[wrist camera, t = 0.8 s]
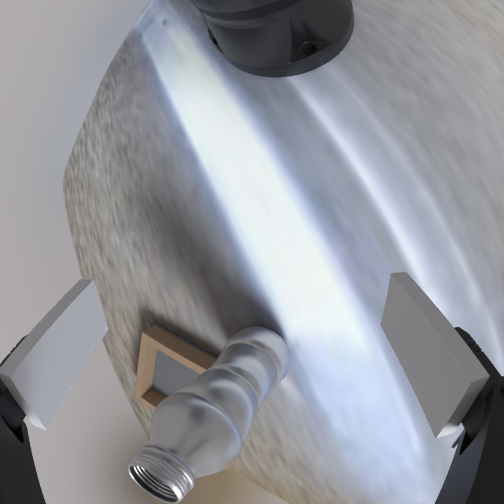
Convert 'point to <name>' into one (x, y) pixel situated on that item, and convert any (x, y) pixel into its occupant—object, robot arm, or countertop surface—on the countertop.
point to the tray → (167, 365)
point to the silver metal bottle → (210, 415)
